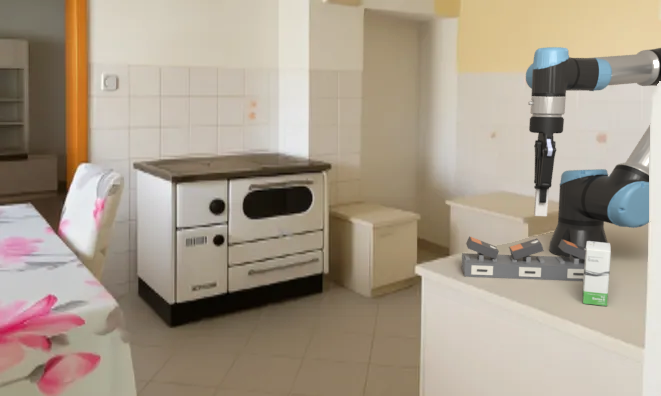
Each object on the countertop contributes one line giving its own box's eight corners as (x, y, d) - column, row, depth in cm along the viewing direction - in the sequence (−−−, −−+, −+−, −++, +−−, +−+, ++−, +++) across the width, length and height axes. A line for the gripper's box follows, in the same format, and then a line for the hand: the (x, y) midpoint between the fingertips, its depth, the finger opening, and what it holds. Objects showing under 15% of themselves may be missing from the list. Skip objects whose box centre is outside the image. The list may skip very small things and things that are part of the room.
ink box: (607, 307, 129) (612, 251, 127) (581, 304, 130) (585, 248, 129) (606, 294, 136) (610, 241, 135) (582, 292, 138) (585, 239, 136)
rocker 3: (585, 257, 152) (589, 249, 152) (591, 262, 148) (595, 254, 147) (558, 246, 153) (561, 238, 152) (563, 251, 148) (566, 243, 148)
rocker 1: (492, 253, 155) (496, 246, 155) (495, 259, 150) (499, 251, 150) (466, 243, 156) (469, 235, 155) (467, 248, 151) (471, 240, 150)
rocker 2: (539, 245, 153) (536, 237, 153) (543, 250, 149) (541, 242, 148) (511, 254, 155) (508, 246, 154) (514, 259, 150) (511, 251, 150)
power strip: (585, 270, 155) (586, 252, 154) (596, 281, 146) (597, 262, 145) (461, 266, 159) (462, 248, 158) (464, 276, 150) (465, 257, 149)
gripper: (525, 114, 153) (519, 210, 157) (535, 116, 140) (528, 220, 144) (557, 115, 152) (551, 211, 156) (570, 116, 139) (562, 221, 143)
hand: (540, 215), depth 150 cm, fingers closed
